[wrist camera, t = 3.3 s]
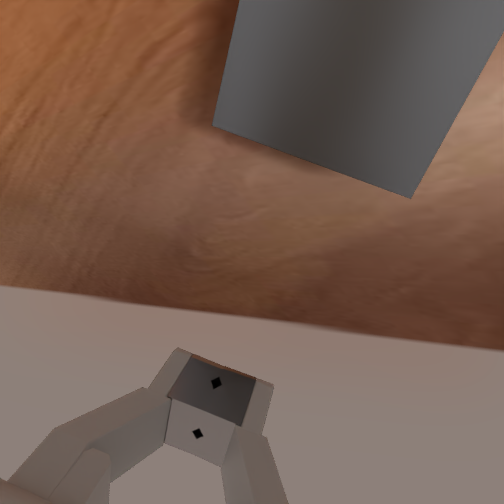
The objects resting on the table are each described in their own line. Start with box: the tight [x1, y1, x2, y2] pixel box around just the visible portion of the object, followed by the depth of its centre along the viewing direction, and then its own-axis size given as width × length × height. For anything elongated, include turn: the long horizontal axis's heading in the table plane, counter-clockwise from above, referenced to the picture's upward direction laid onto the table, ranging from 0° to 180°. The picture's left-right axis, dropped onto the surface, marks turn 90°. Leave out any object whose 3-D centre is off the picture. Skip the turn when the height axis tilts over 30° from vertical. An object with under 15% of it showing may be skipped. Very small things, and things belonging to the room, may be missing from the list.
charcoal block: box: [212, 0, 504, 199], centre depth 12 cm, size 7×10×6 cm
